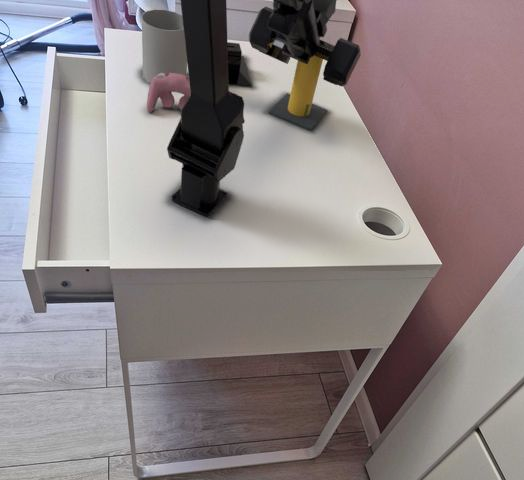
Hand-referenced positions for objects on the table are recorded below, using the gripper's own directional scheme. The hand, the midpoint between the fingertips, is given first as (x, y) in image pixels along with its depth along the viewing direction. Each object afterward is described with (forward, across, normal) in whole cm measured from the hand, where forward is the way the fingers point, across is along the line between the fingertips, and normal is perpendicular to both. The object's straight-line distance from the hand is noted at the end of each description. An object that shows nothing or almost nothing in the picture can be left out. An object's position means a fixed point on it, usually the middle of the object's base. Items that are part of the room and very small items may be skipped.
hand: (309, 70), depth 92 cm
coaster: (+5, 0, +6) cm, 8 cm away
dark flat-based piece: (+8, +18, +3) cm, 20 cm away
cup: (-1, +26, +12) cm, 28 cm away
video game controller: (-7, +17, +18) cm, 26 cm away
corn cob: (+4, 0, +6) cm, 7 cm away
